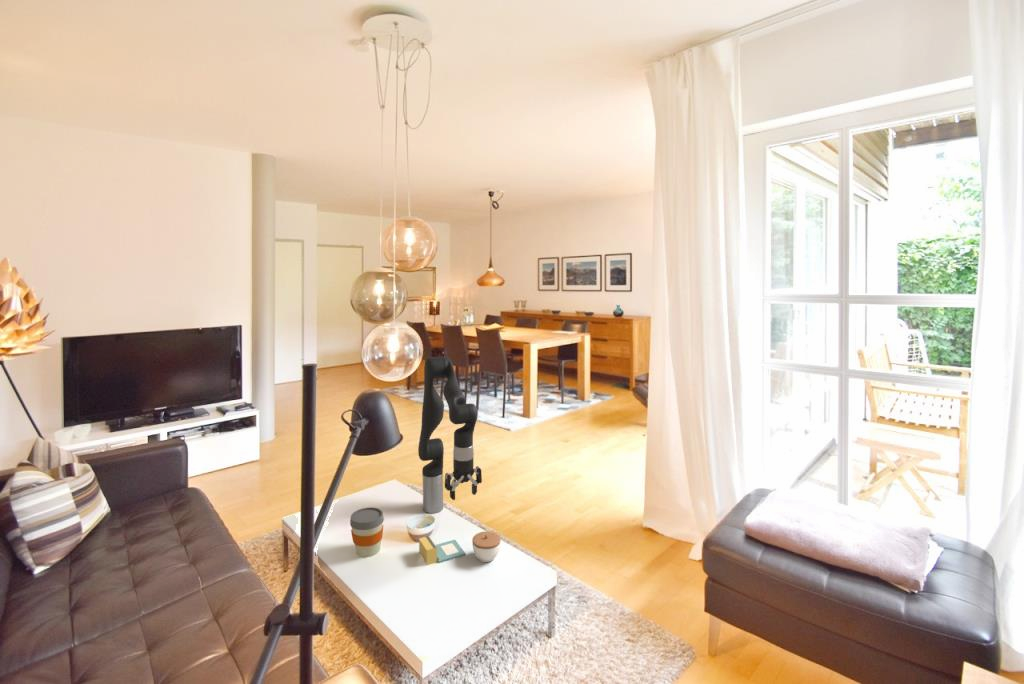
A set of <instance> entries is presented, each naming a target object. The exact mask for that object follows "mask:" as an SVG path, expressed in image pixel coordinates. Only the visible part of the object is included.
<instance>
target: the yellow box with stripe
mask: <svg viewBox="0 0 1024 684" xmlns="http://www.w3.org/2000/svg"><path fill="white" fill-rule="evenodd" d="M436 545H437V544H436V543H434V541H433V540H432V538H431V536H430V535H426V536H423V537H420V538H419V539H418V550H419V551H418V552H419V554H420V556H421V558H422V560H423V561H424V563H425V564H426V566H428V565H432V564H435V563H438V561H437V547H436Z"/></svg>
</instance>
